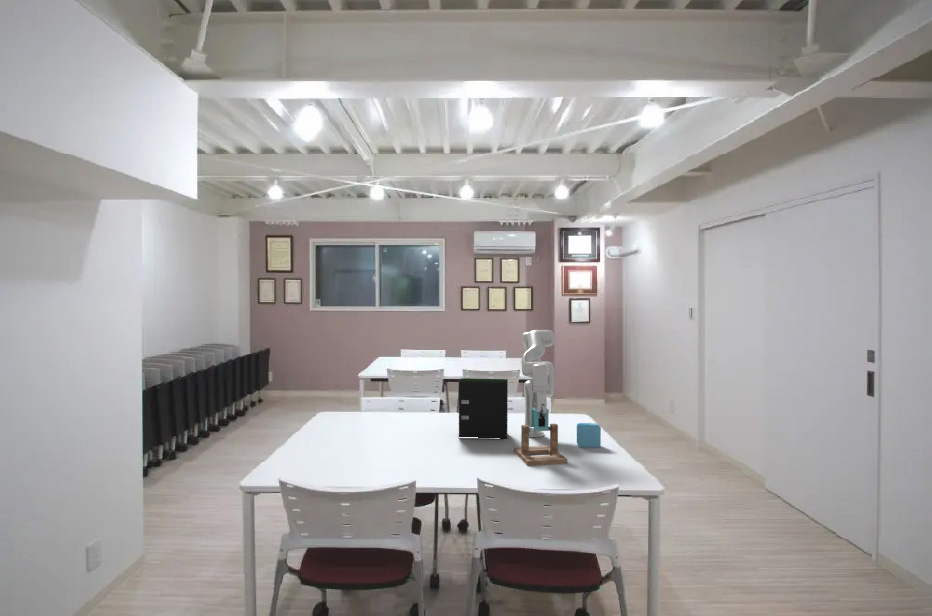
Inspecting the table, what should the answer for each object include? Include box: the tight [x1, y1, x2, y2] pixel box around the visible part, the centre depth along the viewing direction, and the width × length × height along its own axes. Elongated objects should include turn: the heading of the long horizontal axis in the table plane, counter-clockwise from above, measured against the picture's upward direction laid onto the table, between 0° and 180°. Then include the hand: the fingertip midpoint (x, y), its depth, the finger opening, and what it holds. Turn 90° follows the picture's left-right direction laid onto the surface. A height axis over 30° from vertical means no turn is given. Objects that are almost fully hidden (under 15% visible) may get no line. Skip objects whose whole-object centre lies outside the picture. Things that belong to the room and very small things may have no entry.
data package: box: [576, 422, 602, 448], centre depth 287 cm, size 12×4×12 cm, turn 87°
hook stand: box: [513, 423, 568, 466], centre depth 267 cm, size 24×20×16 cm
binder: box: [458, 377, 509, 440], centre depth 307 cm, size 27×15×32 cm, turn 85°
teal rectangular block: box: [531, 408, 550, 431], centre depth 267 cm, size 6×7×10 cm
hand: (539, 424), depth 267 cm, fingers closed on teal rectangular block, 6 cm apart
